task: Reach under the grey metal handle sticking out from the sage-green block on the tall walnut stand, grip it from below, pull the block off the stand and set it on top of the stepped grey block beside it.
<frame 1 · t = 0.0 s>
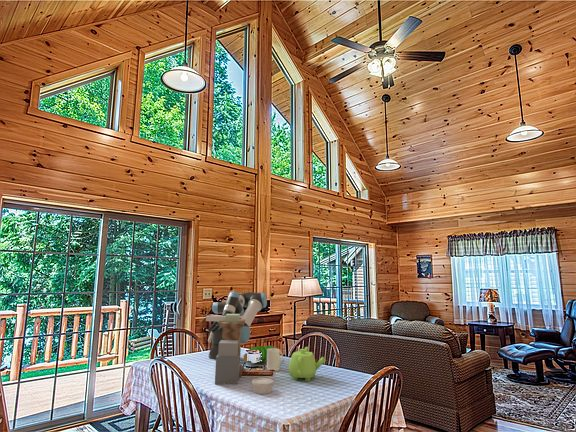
hand: (218, 342, 239), 15 cm above the table, tool tilted 35°, fingers open, 13 cm apart
mug: (275, 369, 236), on the table
stepped grey block: (227, 381, 207), on the table
walnut stand: (230, 372, 225), on the table
decorative tree: (263, 362, 255), on the table
handled block: (232, 321, 230), point 30 cm above the table, touching walnut stand
ramekin: (262, 392, 190), on the table
teapot: (307, 378, 218), on the table
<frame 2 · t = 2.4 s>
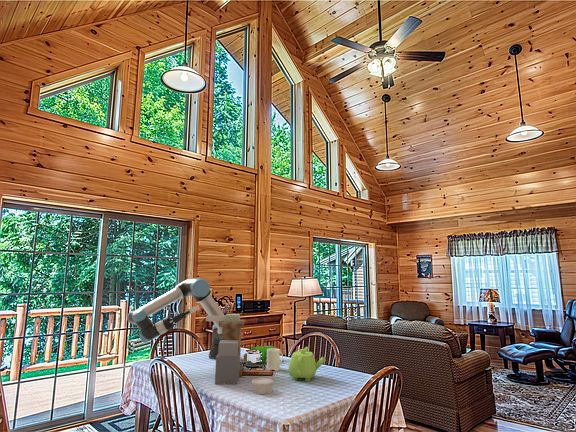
hand: (197, 307, 230), 38 cm above the table, tool pointing upward, fingers open, 13 cm apart
nothing on the table moved.
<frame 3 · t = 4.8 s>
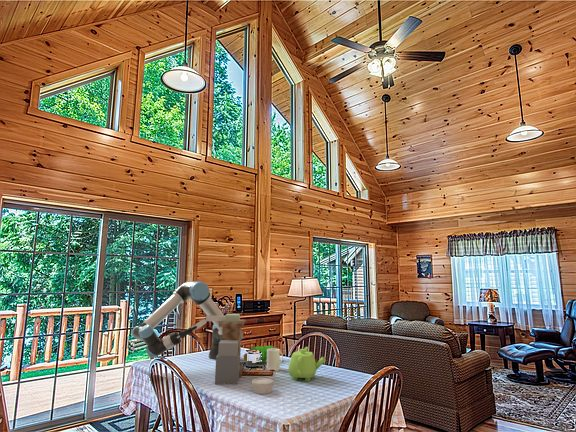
hand: (204, 322, 228), 29 cm above the table, tool pointing upward, fingers open, 13 cm apart
nothing on the table moved.
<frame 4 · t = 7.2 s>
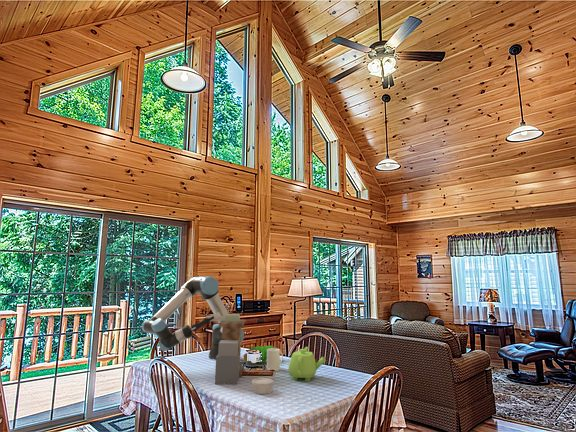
hand: (219, 313, 230), 34 cm above the table, tool pointing upward, fingers closed on handled block, 3 cm apart
handled block: (232, 321, 230), point 30 cm above the table, touching gripper, walnut stand
everything else where it was.
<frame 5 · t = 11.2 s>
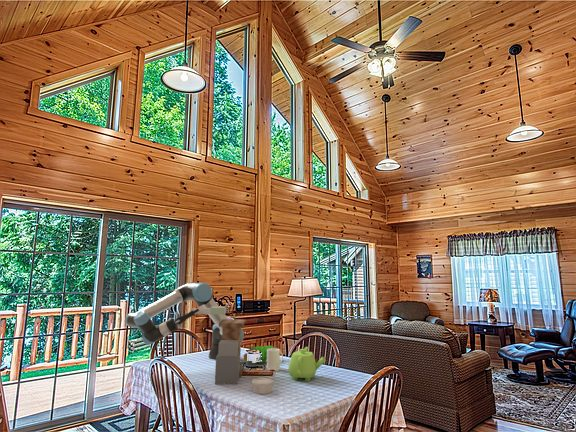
hand: (204, 306, 223), 39 cm above the table, tool pointing upward, fingers closed on handled block, 3 cm apart
handled block: (218, 313, 222), point 35 cm above the table, touching gripper
everything else where it was.
when the fingers open (27 cm above the table, at t = 15.1 s): handled block drops 1 cm, resting on stepped grey block.
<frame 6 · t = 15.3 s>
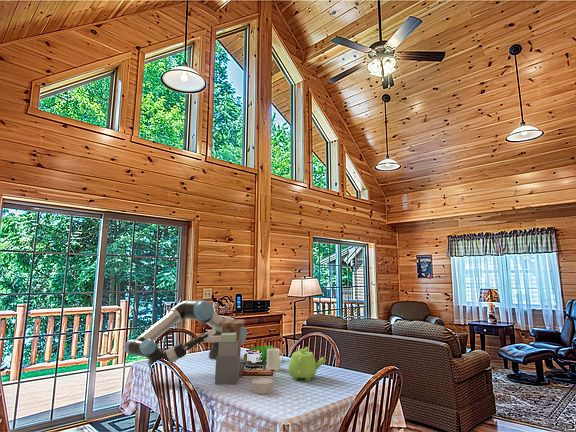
hand: (214, 331, 211), 27 cm above the table, tool pointing upward, fingers open, 5 cm apart
handled block: (228, 341, 211), point 21 cm above the table, touching stepped grey block
everything else where it was.
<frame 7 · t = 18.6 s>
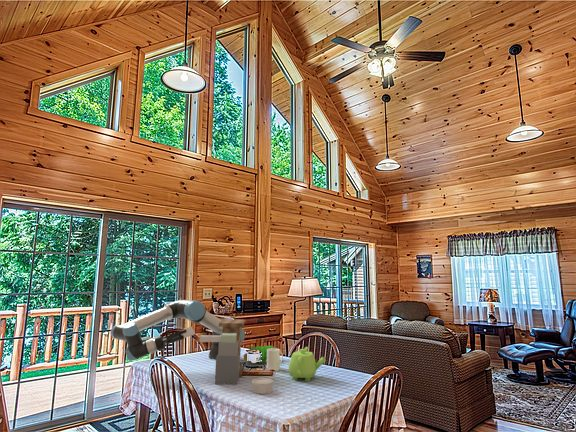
hand: (193, 330, 215), 26 cm above the table, tool pointing upward, fingers open, 13 cm apart
nothing on the table moved.
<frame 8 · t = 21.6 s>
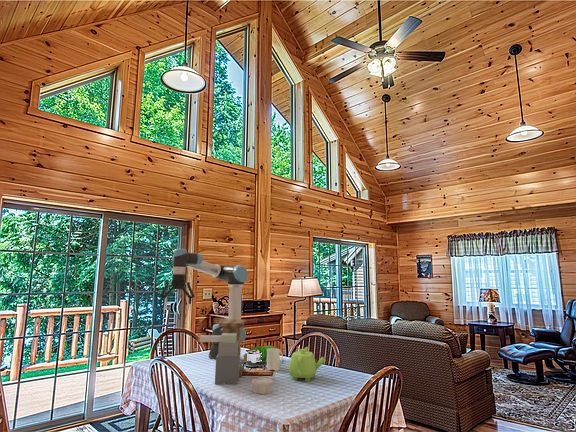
hand: (176, 309, 227), 37 cm above the table, tool pointing down, fingers open, 13 cm apart
nothing on the table moved.
at the end: handled block 0.1 cm off-centre on the stepped grey block, point 21.0 cm above the stepped grey block's base; handled block tilted 0°; the gripper is holding nothing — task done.
